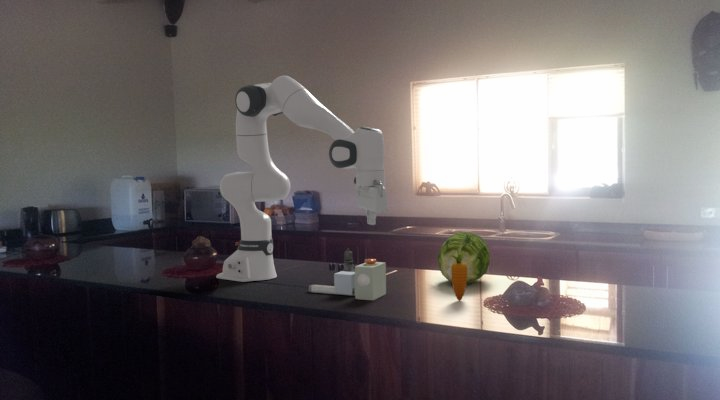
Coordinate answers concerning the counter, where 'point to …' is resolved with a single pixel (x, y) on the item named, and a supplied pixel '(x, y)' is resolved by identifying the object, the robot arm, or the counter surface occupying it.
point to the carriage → (344, 282)
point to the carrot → (459, 275)
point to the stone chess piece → (348, 261)
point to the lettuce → (465, 255)
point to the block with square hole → (370, 281)
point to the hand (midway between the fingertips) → (371, 224)
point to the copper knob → (370, 262)
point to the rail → (325, 289)
